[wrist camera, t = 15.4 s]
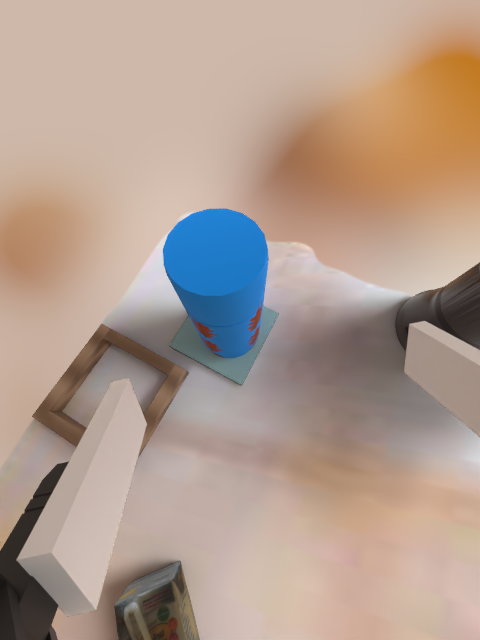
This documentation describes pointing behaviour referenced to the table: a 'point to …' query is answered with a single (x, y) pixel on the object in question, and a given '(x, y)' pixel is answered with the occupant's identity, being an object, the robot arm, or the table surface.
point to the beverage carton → (157, 608)
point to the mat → (228, 367)
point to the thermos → (219, 277)
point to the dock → (83, 365)
